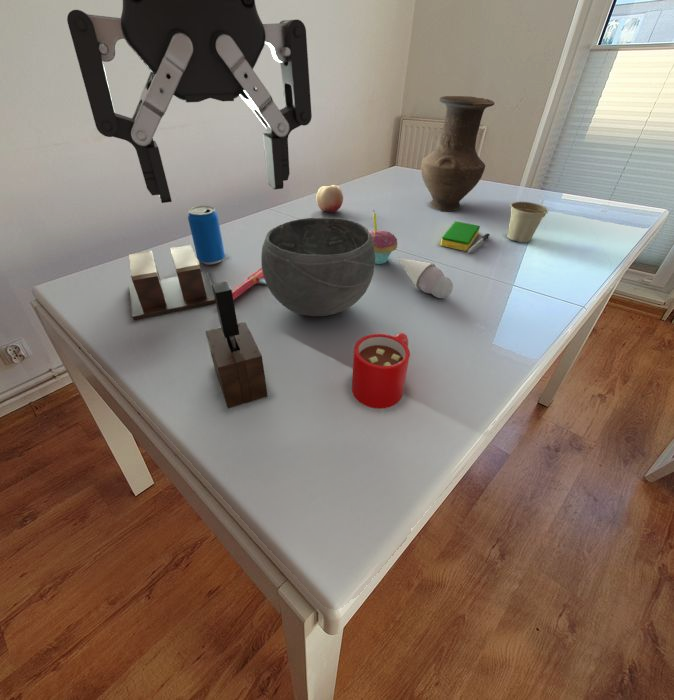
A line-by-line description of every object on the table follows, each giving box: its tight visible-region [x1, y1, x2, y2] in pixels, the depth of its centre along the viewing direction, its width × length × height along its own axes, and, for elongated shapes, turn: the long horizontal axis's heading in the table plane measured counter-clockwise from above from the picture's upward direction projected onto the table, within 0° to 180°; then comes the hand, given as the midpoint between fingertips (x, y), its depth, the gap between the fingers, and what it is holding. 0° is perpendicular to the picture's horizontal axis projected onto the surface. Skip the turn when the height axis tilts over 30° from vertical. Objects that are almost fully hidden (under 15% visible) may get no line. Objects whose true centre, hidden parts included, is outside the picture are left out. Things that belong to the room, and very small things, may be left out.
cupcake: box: [369, 209, 398, 265], centre depth 90 cm, size 9×8×12 cm
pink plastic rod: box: [231, 267, 267, 301], centre depth 82 cm, size 24×2×5 cm
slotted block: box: [128, 244, 216, 322], centre depth 76 cm, size 16×13×8 cm
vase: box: [420, 95, 495, 212], centre depth 116 cm, size 19×19×30 cm
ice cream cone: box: [397, 257, 454, 299], centre depth 81 cm, size 6×6×15 cm
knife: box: [467, 233, 490, 254], centre depth 99 cm, size 15×1×2 cm, turn 143°
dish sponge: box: [440, 221, 481, 252], centre depth 103 cm, size 7×14×2 cm, turn 152°
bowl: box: [260, 217, 376, 317], centre depth 72 cm, size 21×21×15 cm
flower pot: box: [506, 201, 550, 243], centre depth 103 cm, size 9×9×9 cm
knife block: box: [205, 321, 268, 410], centre depth 56 cm, size 6×9×8 cm, turn 25°
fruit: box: [315, 184, 344, 213], centre depth 117 cm, size 8×8×8 cm
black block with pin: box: [212, 281, 239, 352], centre depth 53 cm, size 2×3×17 cm, turn 25°
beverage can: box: [187, 205, 226, 265], centre depth 88 cm, size 6×6×12 cm
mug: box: [351, 332, 411, 410], centre depth 57 cm, size 8×12×8 cm, turn 146°
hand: (222, 192), depth 30 cm, fingers open, 8 cm apart
